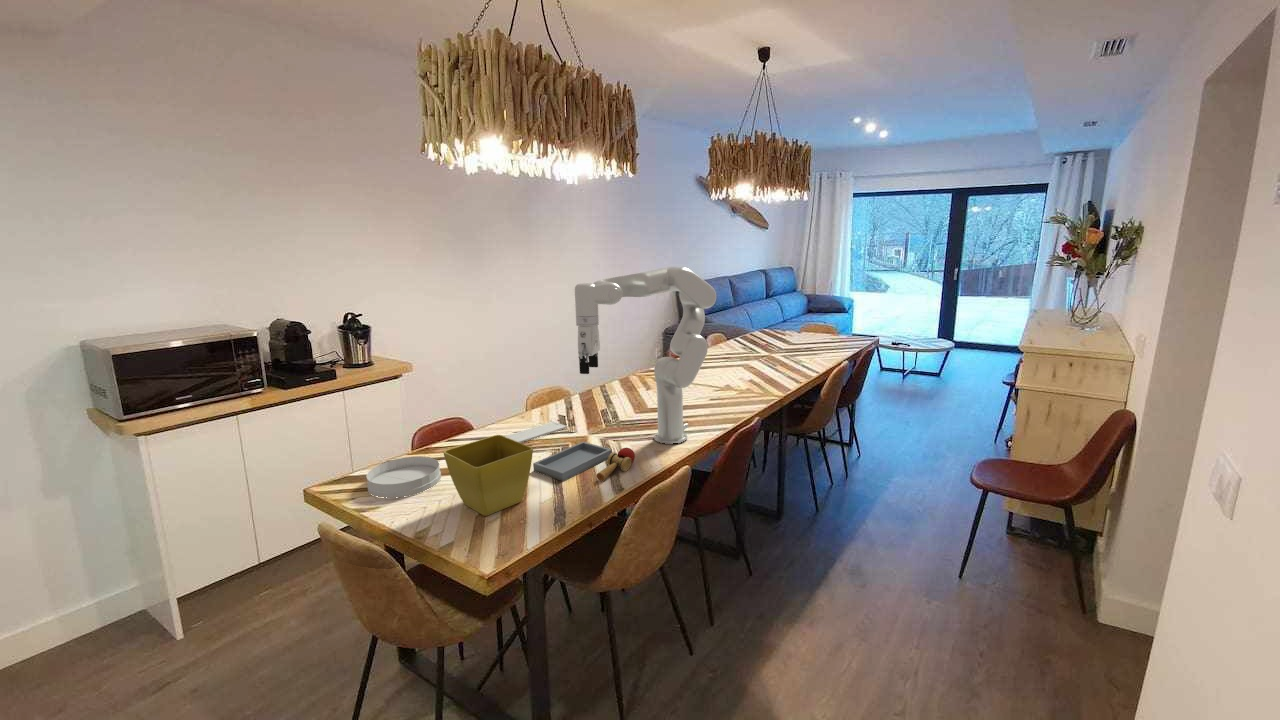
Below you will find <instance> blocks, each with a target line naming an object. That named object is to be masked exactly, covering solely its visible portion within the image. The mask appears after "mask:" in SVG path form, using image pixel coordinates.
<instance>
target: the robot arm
mask: <svg viewBox="0 0 1280 720" xmlns="http://www.w3.org/2000/svg"><path fill="white" fill-rule="evenodd" d="M673 291H674V292H678V293H679V295H678V296H679V301H680V303H681V306H682V309H683V310H682V312H683V313H682V318H681V320H680V322H679V324H678V326H677V329H676V331H675V332H674V335H673V337H672V338H671V341H670V344H669V349H670V351H671V352H672V354H674V355H676V356H678V357H679V358H678V359H677V358H676V357H671V356H664V357H661V358H659V359H658V360H657V361H656V363H655V364H654V369H653V372H654V373H653V374H654V379H655V385H656V396H657V397H656V401H657V405H656V407H657V432H656V433H655V434H654V435H653V439H654V440H655V442H657V443H659V442H660V444H662V443H665V445H674V444H673V443H678V444H682V443H684V442H686V441H687V440H688V434H687V433H686V432H685V430H686V429H687V428H689V426H690V425H689V423H687V422H685V423H684V406H683V404H684V403H683V402H684V401H683V400H684V395H683V394H684V392H683V389H685V388H688V387H689V386H691V385H692V384H693V382H694V381H695V379H696V377H697V375H698V374H699V371H700V369H701V367H702V365H703V363H704V362H705V359H706V357H707V355H708V348H709V347H708V342H707V339H705V337H704V336H702V335H701V332H702V330H703V328H704V326H705V322H706V315H705V313H706V312H705V310H706V309H710V308H711V307H713V306H714V305H715V303H716V301H717V292H716V290H715V288H714V286H712V285H711V284H709V282H707V281H706V280H705V279H703V278H702V277H701V276H699V275H698V274H696V273H695V272H694V271H692V270H691V269H689V268H687V267H685V266H684V267H683V266H682V267H681V266H666V267H662V268H657V269H653V270H648V271H643V272H638V273H637V272H636V273H631V274H627V275H620V276H619V275H618V276H615V277H608V278H604V279H599V280H596V281H594V282H593V283H591V282H590V283H585V282H584V283H578V284H576V285H575V286H574V301H575V304H574V306H575V326H576V327H577V351H578V352H577V354H578V363H579V374H581V375H590V368H599V356H598V355H599V351H600V350H601V345H600V342H601V341H600V331H599V324H600V323H599V322H600V321H599V305H605V306H606V305H607V306H608V305H609V306H612V305H615V304H618V303H619V302H620V301H621V299H622V298H647V297H651V296H655V295H659V294H664V293H668V292H673ZM685 440H686V441H685ZM683 441H684V442H683ZM681 442H682V443H681Z"/></svg>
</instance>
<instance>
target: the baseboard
mask: <svg viewBox="0 0 1280 720" xmlns="http://www.w3.org/2000/svg"><path fill="white" fill-rule="evenodd" d="M552 420H554V419H553V418H552V419H550V420H549V422H547V423H546V422H545V423H543V424H541V425H537V426H534V427H531V428H530V427H529V428H527V429H524V430H521V431H518V432H514V433H512V434H508V435H507V434H506V435H505V437H507V438H510V439H512V440H515V441H517V442H519V443H521V442H523V443H525V442H524V441H526V442H528V440H529V441H532V440H534V438H535V439H538V438H541V437H540V436H542V437H545V436H547V434H548V435H550V433H551V434H554V433H557V432H559V430H560V431H563V430H566V429H568V425H567V423H565V424H566V425H564V424H563V422H562V421H561V420H560V419H556V421H557V422H556V421H555V420H554V421H552ZM565 428H566V429H565ZM562 429H563V430H562ZM556 431H557V432H556ZM553 432H554V433H553ZM544 435H545V436H544ZM537 437H538V438H537ZM531 439H532V440H531Z"/></svg>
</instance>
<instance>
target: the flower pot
mask: <svg viewBox="0 0 1280 720" xmlns="http://www.w3.org/2000/svg"><path fill="white" fill-rule="evenodd" d="M505 436H506V435H505ZM505 436H504V435H501V434H495V435H492V436H489V437H485V438H481V439H478V440H476V441H471V442H469V443H465V444H461V445H459V446H458V445H457V446H454V447H451V448H449V449H446V450H443V452H442V453H443V457H444V460H445V463H446V466H447V470H448V473H449V475H450V478H451V481H452V483H453V485H454V487H455V489H456V491H457V493H458V495H459V497H460V499H461V501H462V503H463V504H464V505H466V506H467V507H469V508H471V509H472V510H474V511H475V512H477V513H479V515H481V516H484V517H486V516H490V515H492V514H494V513H497V512H499V511H501V510H504V509H507V508H509V507H512V506H515V505H516V504H519V503H521V502H522V501H523V498H524V495H525V492H526V489H527V486H528V482H529V478H530V472H531V468H532V462H533V460H532V459H533V452H534V448H533V447H532V446H530V445H529V446H528V445H526V444H524V443H519V442H517V441H515V440H512V439H510V438H507V437H505Z"/></svg>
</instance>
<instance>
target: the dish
mask: <svg viewBox="0 0 1280 720" xmlns="http://www.w3.org/2000/svg"><path fill="white" fill-rule="evenodd" d="M441 478H442V472H441V470H440V462H439V460H437V459H435V458H433V457H429V456H417V455H416V456H407V457H400V458H396V459H392V460H387V461H385V462H383V463H380V464H378V465H376V466H375V467H373V468H372V469H370V470H369V471H368V472H367V474H366V480H367V483H366V486H367V493H368V492H369V493H370V494H372V495H374V496H378V497H384V498H386V497H387V498H396V497H404V496H408V497H410V496H409V495H413V494H416V495H418V494H417V493H419V494H421V493H420V492H422V493H424V492H423V491H425V490H427V489H429V488H431V487H432V488H434V487H435V486H437V485H438V484H439V483H438V482H440V481H441V480H440V479H441ZM439 480H440V481H439ZM437 483H438V484H437ZM436 484H437V485H436ZM434 485H435V486H434ZM433 486H434V487H433ZM432 488H431V489H432ZM429 490H430V489H429ZM427 491H428V490H427ZM425 492H426V491H425ZM369 493H368V494H369ZM370 494H369V495H370ZM374 496H373V497H374ZM413 496H414V495H413ZM404 498H405V497H404ZM396 499H397V498H396Z"/></svg>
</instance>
